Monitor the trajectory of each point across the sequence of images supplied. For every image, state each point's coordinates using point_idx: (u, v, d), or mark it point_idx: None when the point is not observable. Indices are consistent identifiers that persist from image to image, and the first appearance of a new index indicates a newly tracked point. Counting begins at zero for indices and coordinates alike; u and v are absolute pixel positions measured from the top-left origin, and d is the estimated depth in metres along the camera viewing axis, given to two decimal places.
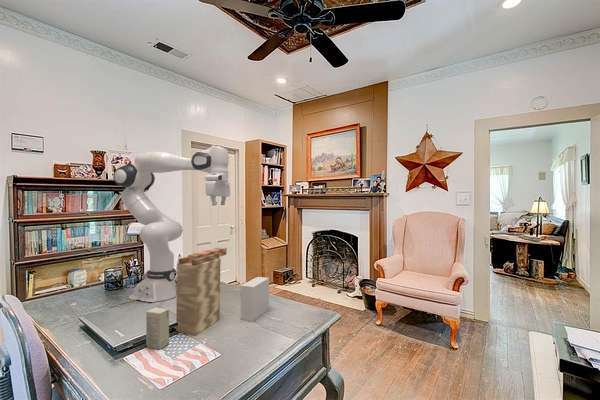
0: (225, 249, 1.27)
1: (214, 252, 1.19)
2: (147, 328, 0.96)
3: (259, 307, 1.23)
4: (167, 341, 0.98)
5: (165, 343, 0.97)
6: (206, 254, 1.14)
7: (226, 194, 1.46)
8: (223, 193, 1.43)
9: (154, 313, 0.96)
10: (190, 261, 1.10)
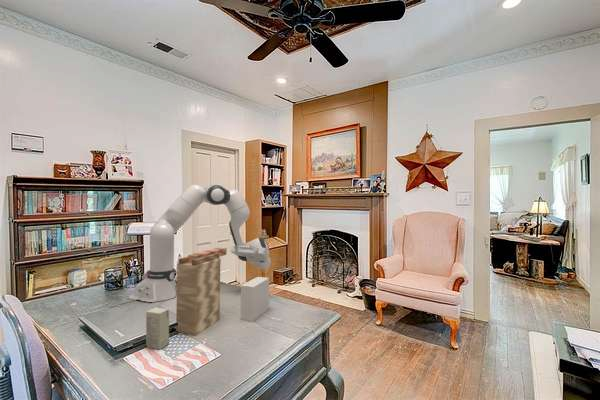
0: (225, 249, 1.27)
1: (214, 252, 1.19)
2: (147, 328, 0.96)
3: (259, 307, 1.23)
4: (167, 341, 0.98)
5: (165, 343, 0.97)
6: (206, 254, 1.14)
7: (238, 252, 1.50)
8: (244, 253, 1.49)
9: (154, 313, 0.95)
10: (190, 261, 1.10)
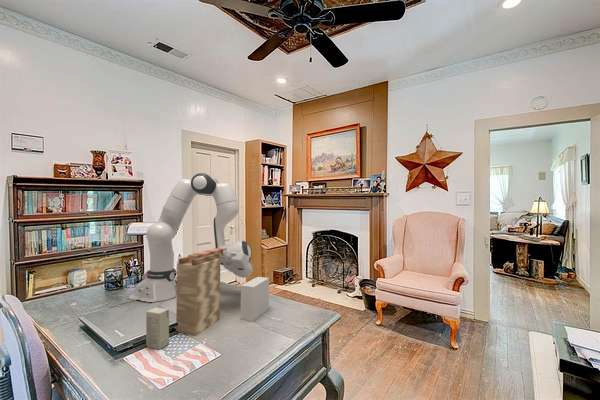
0: (225, 249, 1.27)
1: (214, 252, 1.19)
2: (147, 328, 0.96)
3: (259, 307, 1.23)
4: (167, 341, 0.98)
5: (165, 343, 0.97)
6: (206, 254, 1.14)
7: None
8: None
9: (154, 313, 0.95)
10: (190, 261, 1.10)
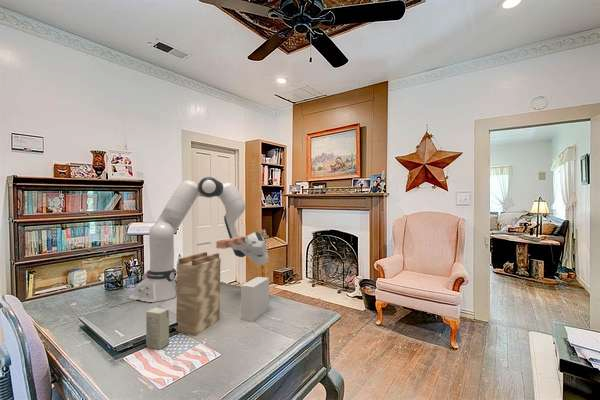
0: (246, 237, 1.40)
1: (238, 239, 1.33)
2: (147, 328, 0.96)
3: (259, 307, 1.23)
4: (167, 341, 0.98)
5: (165, 343, 0.97)
6: (231, 241, 1.28)
7: (235, 246, 1.44)
8: (241, 246, 1.43)
9: (154, 313, 0.95)
10: (218, 246, 1.23)
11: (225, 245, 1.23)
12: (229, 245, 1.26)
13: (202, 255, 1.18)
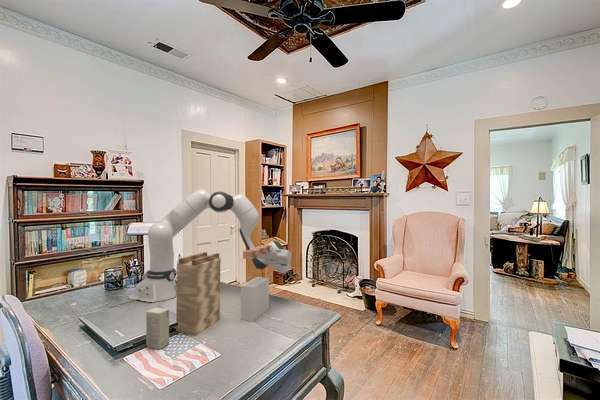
0: (271, 246, 1.36)
1: (263, 249, 1.28)
2: (147, 328, 0.96)
3: (259, 307, 1.23)
4: (167, 341, 0.98)
5: (165, 343, 0.97)
6: (258, 250, 1.23)
7: None
8: (265, 255, 1.38)
9: (154, 313, 0.95)
10: (245, 257, 1.19)
11: (252, 255, 1.19)
12: (256, 255, 1.21)
13: (202, 255, 1.18)
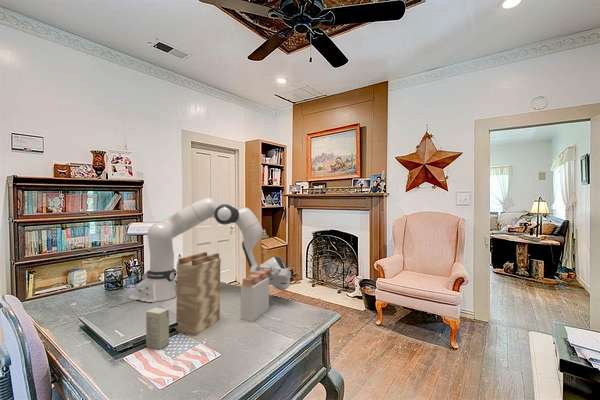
0: None
1: (263, 274, 1.28)
2: (147, 328, 0.96)
3: (259, 307, 1.23)
4: (167, 341, 0.98)
5: (165, 343, 0.97)
6: (257, 277, 1.23)
7: None
8: None
9: (154, 313, 0.95)
10: (244, 284, 1.19)
11: (252, 283, 1.19)
12: (255, 282, 1.21)
13: (202, 255, 1.18)
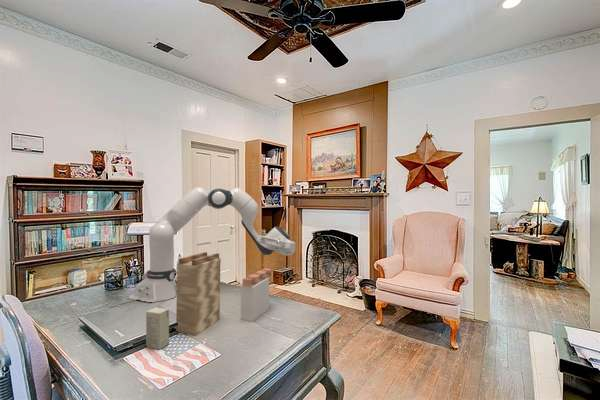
0: (270, 270, 1.36)
1: (263, 274, 1.28)
2: (147, 328, 0.96)
3: (259, 307, 1.23)
4: (167, 341, 0.98)
5: (165, 343, 0.97)
6: (257, 277, 1.23)
7: (264, 243, 1.47)
8: (270, 244, 1.46)
9: (154, 313, 0.95)
10: (244, 284, 1.19)
11: (252, 283, 1.19)
12: (255, 282, 1.21)
13: (202, 255, 1.18)
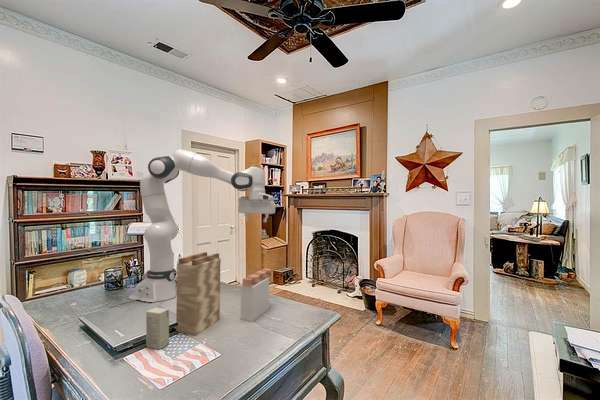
0: (270, 270, 1.36)
1: (263, 274, 1.28)
2: (147, 328, 0.96)
3: (259, 307, 1.23)
4: (167, 341, 0.98)
5: (165, 343, 0.97)
6: (257, 277, 1.23)
7: None
8: None
9: (154, 313, 0.95)
10: (244, 284, 1.19)
11: (252, 283, 1.19)
12: (255, 282, 1.21)
13: (202, 255, 1.18)
